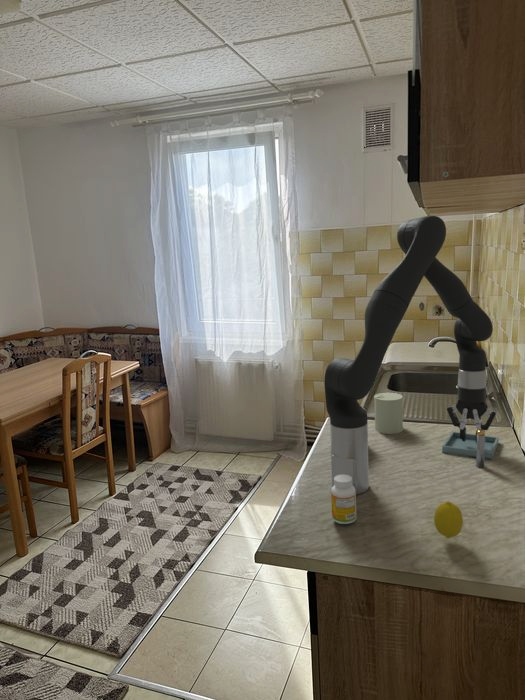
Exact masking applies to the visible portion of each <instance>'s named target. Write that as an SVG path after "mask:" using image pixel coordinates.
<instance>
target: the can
mask: <svg viewBox="0 0 525 700" xmlns="http://www.w3.org/2000/svg"><path fill="white" fill-rule="evenodd" d="M373 398H374V399H373V400H374V430H375V431H376V432H377V433H381V434H387V435H393V434H398V433H402V432H403V430H404V426H403V422H404V421H403V418H404V417H403V413H404V412H403V409H404V408H403V404H404V403H403V402H404V401H403V398H404V397H403V394H399V393H395V392H379V393H376V394H374V396H373Z"/></svg>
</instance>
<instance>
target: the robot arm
mask: <svg viewBox="0 0 525 700" xmlns="http://www.w3.org/2000/svg"><path fill="white" fill-rule="evenodd" d="M446 226H447V225H446V224H445V221H444V220H443V218H441V217H439V216H436V215H426V216H420V217H417V218H412V219H409V220H406V221H404V222H403V223H401V224H400V225H399V227H398V228H397V234H396V240H397V244H398V245H399V247H400V249H401V250H402V251H401V252H403V253H404V257H403V259H402V260H401V261H400V263H398V265H397V266H396V267H395V268H393V269H392V270H391V271H390V272H389V273H388V274H387V275H386V276H385V277H384V278H383V279H382V280H381V281H380V282H379V283H378V285H377V286H376V288H375V289H374V291H373V293H372V295H371V297H370V298H369V301H368V302H367V305H366V308H365V311H364V339H363V342H362V345H361V347H360V349H359V352H358V353H357V355H356V357H355V358H354V360H353V359H350V358H343V357H337V358H335V359H333V360H331V361H330V362H329V363H328V365H327V367H326V368H325V371H324V372H325V373H324V379H323V382H324V384H323V385H324V395H325V408H326V412H327V414H328V416H329V420H330V421H329V423H330V428H329V429H330V453H331V456H330V457H331V458H330V459H331V462H330V463H331V464H330V465H331V466H330V467H331V488H332V487H333V486H334V477H335V476H337V475H349V476H351V477H352V486H354V488H355V491H356V496H357V495H361V494H363V493H365V492H367V491H368V490H369V487H370V486H369V485H370V483H369V481H370V480H369V479H370V478H369V477H370V476H369V474H370V473H369V440H368V439H369V438H368V437H369V434H368V433H369V431H368V430H369V429H368V428H369V427H368V423H369V422H368V413H367V410H366V409H365V410H364V409H363V408H364V407H362V405H361V404H360V403H359V402H358V401H359V400H362V399H364V398H365V397H367V396H368V394H369V393H370V391H372V388H373V387H374V384H375V382H376V379H377V377H378V374H379V371H380V369H381V366H382V363H383V360H384V358H385V356H386V353H387V352H388V349H389V346H390V344H391V343H392V342H391V341H392V340H393V338H394V336H395V334H396V332H397V329H398V327H399V326H400V323H401V322H402V321H403V318H404V317H405V314H406V312H407V310H408V308H409V307H410V303H411V301H412V299H413V298H414V295H415V293H416V291H417V290H418V287H419V286H420V284H421V282H422V280H423V278H424V277H425V278H426V280H427V282H428V283H429V284H430V285H431V287H432V288H433V289H434V290H435V292H436V294H437V295H438V297H439V298H440V300H441V301H442V303H443V306H444V308H446V311H447V312H448V313H449V314H450V315H451V316H452V317H454V318H456V320H455V322H454V324H453V325H454V326H453V335H454V339H455V340H454V341H455V343H456V344H455V345H456V348H457V351H458V356H459V358H458V359H459V360H458V361H459V362H458V376H457V402H456V403H455V404H454V405H451V404H450V405H449V406H447V408H446V411H447V413H448V416H449V418H450V421H451V422H452V425H453V426H454V427H458V429H459V432H460V439H462V441H464V442H465V440H466V433H467V427H466V426H467V421H468V420H469V419H470V420H474V424H475V428H476V430H475V435H476V443H477V430H484V431H488V430H489V428H490V427H491V424H492V423H493V421H494V419H495V417H496V416H497V414H498V412H497V410H496V409H491V408H490V407H488V404H487V384H488V383H487V382H488V381H487V368H486V367H487V353H486V351H485V349H483V348H481V347H480V346H478V343H477V342H484V341H485V342H486V341H487V340H489V339H490V338H491V336H492V334H493V331H494V328H493V322H492V320H491V318H490V317H489V315H488V314H487V313H486V312H485V311H484V310H483V309H482V307H481V306H480V305H479V304H477V303H476V301H474V300H473V297H472V296H471V294H470V293H469V291H468V289H467V287H466V285H465V284H464V282H463V281H462V279H461V278H460V277H458V275H456V274H455V273H454V272H453V271H452V270H450V269H449V268H448V267H446V266H445V265H444V263H442V262H441V261H440V260H439V259H438V258H437V255H438V254H439V253H440V251H441V249H442V247H443V245H444V243H445V241H446V236H447V228H446ZM457 411H458V412H459V414H460V415H461V418H460V419H461V420H459V418H458V416H457V413H456V412H457ZM485 413H486V416H487V417H488V419H487V420H486V422H485V424H483V420H482V417H483V415H484V414H485Z"/></svg>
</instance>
